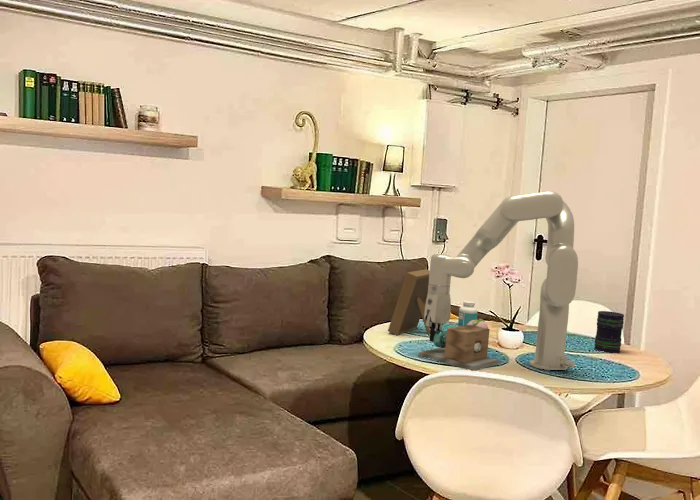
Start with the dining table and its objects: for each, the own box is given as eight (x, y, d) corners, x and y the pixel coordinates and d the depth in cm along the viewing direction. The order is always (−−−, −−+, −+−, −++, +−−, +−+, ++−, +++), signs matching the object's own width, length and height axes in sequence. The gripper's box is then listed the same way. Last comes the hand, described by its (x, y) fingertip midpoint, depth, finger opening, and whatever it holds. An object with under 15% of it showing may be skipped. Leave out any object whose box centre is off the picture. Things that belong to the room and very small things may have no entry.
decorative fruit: (468, 339, 279) (471, 314, 278) (489, 342, 275) (491, 317, 275) (461, 342, 271) (464, 317, 270) (482, 346, 267) (484, 320, 266)
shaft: (482, 355, 237) (483, 337, 236) (472, 357, 232) (474, 339, 232) (442, 345, 247) (444, 328, 247) (432, 347, 243) (434, 330, 242)
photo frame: (387, 333, 277) (393, 270, 275) (407, 326, 296) (413, 267, 294) (422, 340, 270) (429, 275, 268) (440, 332, 290) (447, 272, 288)
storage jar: (622, 354, 272) (626, 316, 270) (595, 351, 274) (599, 313, 272) (617, 349, 281) (621, 312, 280) (592, 346, 283) (596, 310, 282)
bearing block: (498, 364, 238) (501, 330, 238) (473, 370, 226) (476, 335, 226) (443, 351, 253) (446, 319, 252) (418, 356, 241) (420, 323, 240)
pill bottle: (478, 334, 290) (481, 302, 289) (471, 337, 283) (474, 304, 282) (461, 331, 294) (464, 299, 292) (454, 333, 287) (457, 301, 286)
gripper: (435, 292, 236) (430, 346, 238) (459, 290, 248) (455, 341, 249) (417, 289, 241) (413, 341, 243) (442, 287, 253) (437, 337, 254)
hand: (434, 341), depth 246 cm, fingers closed
